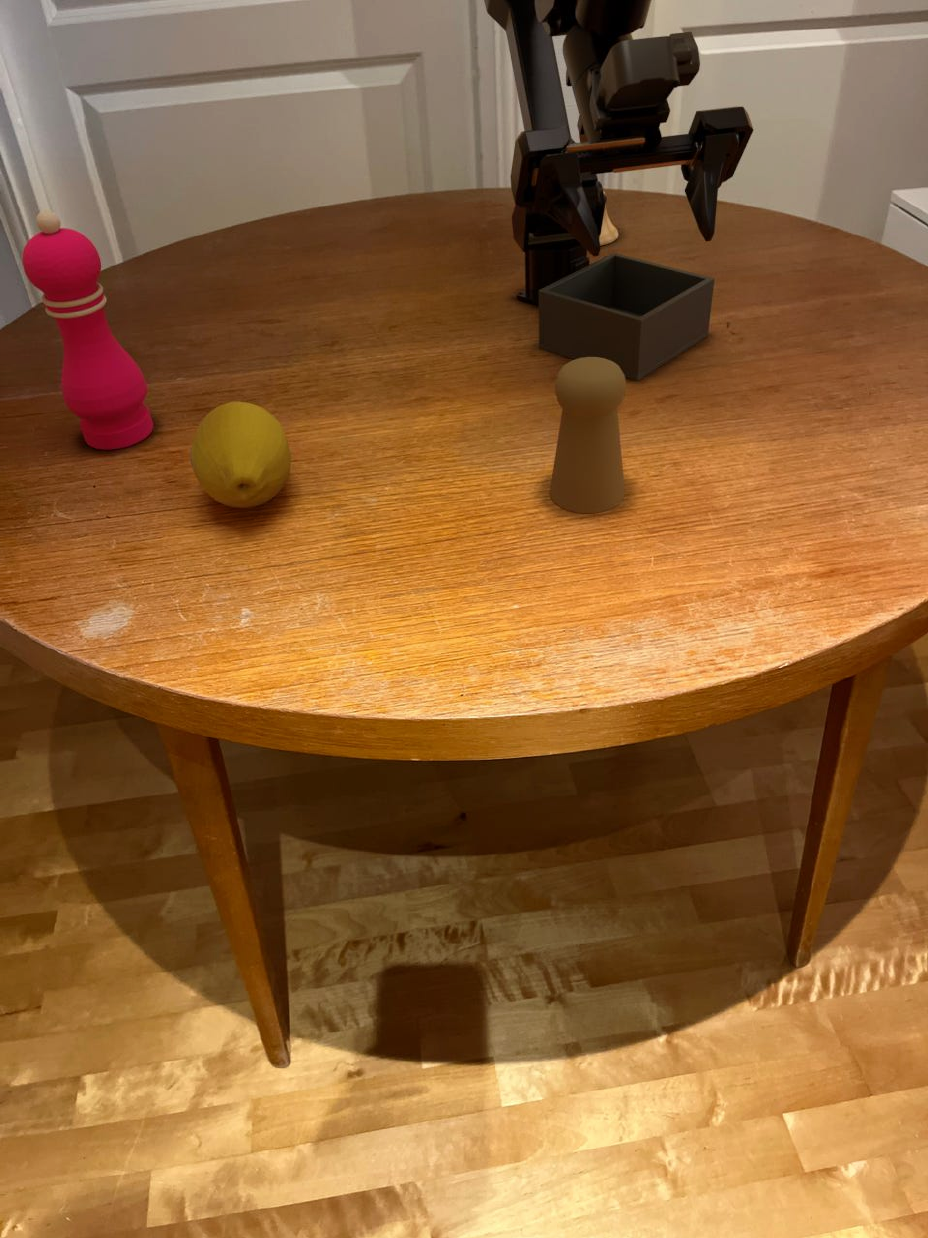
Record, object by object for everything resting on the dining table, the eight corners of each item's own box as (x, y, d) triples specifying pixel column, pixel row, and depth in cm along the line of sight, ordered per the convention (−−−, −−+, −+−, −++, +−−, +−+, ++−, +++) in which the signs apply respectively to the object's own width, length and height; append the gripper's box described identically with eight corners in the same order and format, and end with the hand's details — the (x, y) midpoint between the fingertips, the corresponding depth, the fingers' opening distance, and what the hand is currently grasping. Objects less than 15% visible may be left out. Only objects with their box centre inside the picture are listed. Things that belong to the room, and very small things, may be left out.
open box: (538, 347, 97) (538, 290, 93) (611, 307, 103) (613, 252, 99) (637, 381, 90) (641, 320, 86) (708, 336, 96) (714, 277, 92)
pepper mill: (87, 461, 85) (3, 233, 71) (73, 427, 90) (-9, 208, 76) (167, 438, 87) (99, 213, 74) (149, 406, 92) (82, 190, 79)
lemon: (215, 467, 82) (192, 383, 77) (304, 461, 82) (287, 377, 77) (191, 541, 74) (164, 452, 69) (290, 534, 74) (271, 445, 69)
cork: (631, 476, 77) (640, 350, 70) (616, 518, 73) (623, 388, 66) (560, 467, 79) (561, 343, 72) (540, 507, 75) (539, 379, 68)
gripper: (507, 8, 69) (553, 185, 65) (749, -17, 71) (808, 154, 67) (494, 126, 80) (533, 285, 76) (705, 102, 82) (753, 255, 78)
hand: (654, 244), depth 74 cm, fingers open, 9 cm apart
